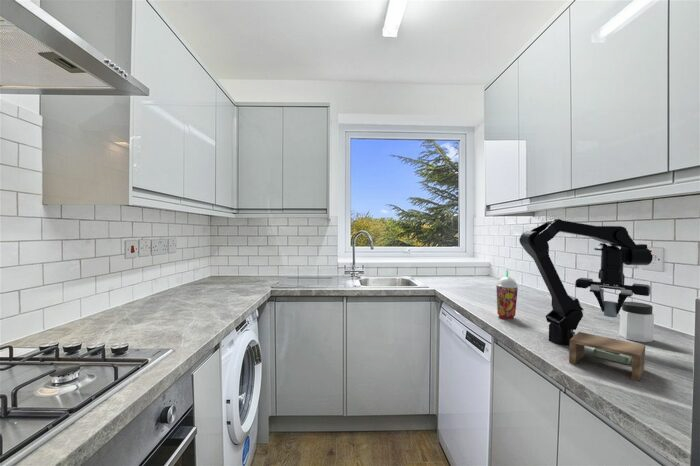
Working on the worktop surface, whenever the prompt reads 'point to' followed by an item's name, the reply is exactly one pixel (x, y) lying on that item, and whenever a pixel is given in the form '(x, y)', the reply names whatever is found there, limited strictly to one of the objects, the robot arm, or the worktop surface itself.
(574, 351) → the shelf
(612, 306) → the grey rounded cylinder
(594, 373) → the worktop surface
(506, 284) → the smoothie
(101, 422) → the worktop surface
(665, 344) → the worktop surface
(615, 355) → the tray
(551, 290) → the robot arm
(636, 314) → the jar
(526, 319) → the worktop surface
